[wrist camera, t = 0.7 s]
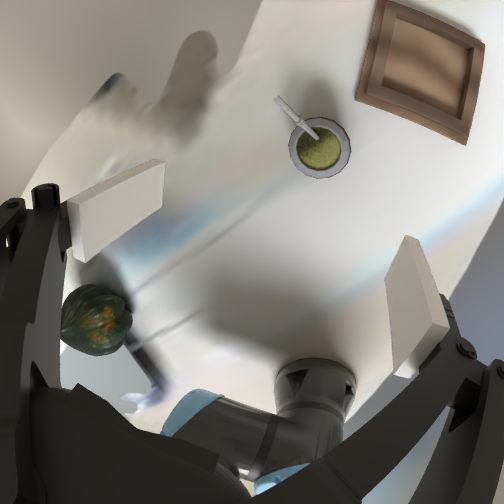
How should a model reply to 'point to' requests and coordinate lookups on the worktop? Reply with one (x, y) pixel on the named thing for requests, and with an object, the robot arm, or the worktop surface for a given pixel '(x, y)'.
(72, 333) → the squash
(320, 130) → the mate gourd
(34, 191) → the robot arm
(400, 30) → the holder board
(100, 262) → the worktop surface
